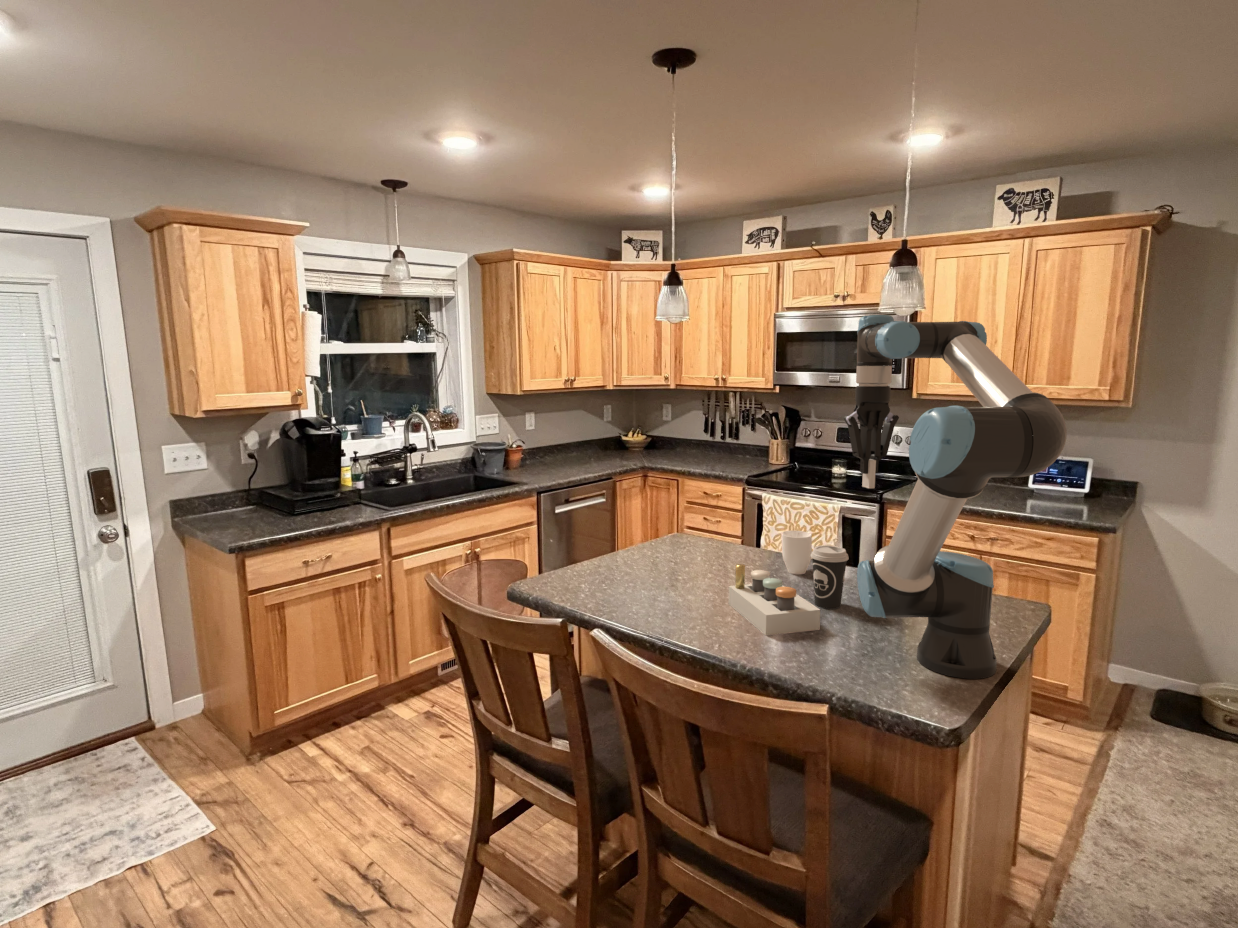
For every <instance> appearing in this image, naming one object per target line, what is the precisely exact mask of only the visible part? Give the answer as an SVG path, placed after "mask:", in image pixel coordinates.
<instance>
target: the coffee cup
mask: <svg viewBox="0 0 1238 928" xmlns="http://www.w3.org/2000/svg"><path fill="white" fill-rule="evenodd" d="M810 556H811V561H812V576H813V579H812V580H813V593H814V594H813V595H814V604H815V605H814V606H816V607H817V608H818V607H819V608H821V609H827V610H828V609H829V610H835V609H839V608H841V605H842V596H843V590H844V581H845V574H846V568H847V567H846V566H847V561H848V560H849V554H848V553H847V550H846V548H843V547H841V546H836V545H829V544H827V545H826V544H825V545H824V544H823V545H822V544H821V545H815V546H814V548H813V549H812V553H811V555H810Z"/></svg>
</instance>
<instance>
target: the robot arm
mask: <svg viewBox="0 0 1238 928" xmlns="http://www.w3.org/2000/svg"><path fill="white" fill-rule="evenodd" d="M856 333H857V342H856V343H857V347H856V350H857V351H856V371H855V372H856V374H855V382H856V384H858V385H856V387H855V389H854V390H855V392H854V394H855V396H854V400H855V401H854V402H855V406H854V409H853V412H852V413H850V414H849V415H845V416H844V417H843V419H844V422H845V423H846V425H847V429H848V435H849V441H850V446H851V451H852V456H853V457H856V458H858V459H860V462H859V463H860V468H859V471H860V474H862V477H861V478H862V482H861V484H862V485H861V487H862V488H866V489H875V487H876V474H877V473H878V472H879V463H880V462H879V461H882V459H883V458H884V457H887V455H888V452H889V449H890V445H891V441H892V437H893V433H894V429H895V425H896V424H897V422H898V420H899V419H900V416H899V415H897V414H894V413H893V412H891V407H890V406H889V403H890V402H891V387H890V386H889V385H890V384H891V383H892V373H893V371H892V370H893V369H892V368H893V367H892V366H893V360H896V359H897V360H899V359H942V360H943V361H944V362H945V363H946V365H948V367H949V368H950V369H951V370H952V371H953V372H954V374H955V375H956V376H957V377H958V378H959V379H960V381H961V382H962V383H963V384H964V386H965V387H966V388H967V389H968V391H969V392H970V393H971V394H972V396H974V398H975V399H976V400H977V401H978V402H979V404H980V405H981V406H970V407H969V406H961V405H949V406H948V405H947V406H943V407H942V406H941V407H940V406H939V407H934V408H931V409H928V410H926V411H925V412H924V413H922V414H921V416H919V418H917V420H916V422H915V423H914V426H913V428H912V430H911V433H910V437H909V441H910V444H909V445H908V458H909V463H910V465H911V468H912V470H913V471H914V474H915V475H916V478H917V480H916V483H915V485H914V487H913V489H912V491H911V494H910V496H909V499H908V501H907V502H906V506H905V507H904V510H903V513H902V515H901V517H900V520H899V521H898V524H897V526H896V529H895V530H894V532H893V536H891V540H890V542H889V544H888V545H885V546H883V547H882V548H880V549H879V550H878V551H877V552H876V555H875V556H874V558H873V560H869V559H866V560H862V561H860V562H859V563H858V565H857V570H856V571H857V572H856V579H857V590H858V596H859V600H860V604H861V606H862V609H863V610H864V612H865V613H866V614H867V616H869V617H871V618H883V619H891V618H895V619H896V618H897V619H898V618H902V619H903V618H907V619H908V618H927V624H926V628H924V629H925V630H924V633H923V634H922V637H921V639H920V642H918V645H917V648H916V659H917V661H918V662H919V664H921V665H922V666H923V667H924V668H926V669H928V670H930V671H933V672H935V673H938V674H941V675H945V676H949V677H953V678H959V679H968V680H971V679H972V680H974V679H976V680H977V679H985V678H990V677H992V676H993V675H995V674H996V672H997V665H998V664H997V663H998V662H997V661H998V660H997V656H996V654H995V648H994V645H993V643H992V639H991V635H990V627H991V626H990V625H991V614H992V604H993V602H992V601H993V592H994V591H993V588H994V586H995V585H994V569H993V568H992V566H991V565H990V564H989V563H987V562H986V561H984V560H982V559H980V558H977V557H975V556H972V555H967V554H963V553H958V552H953V551H952V552H951V551H945V550H944V551H941V549H942V548H943V546H944V544H945V542H946V540H947V538H948V536H949V534H950V532H951V531H952V528H953V526H954V525H955V523H956V521H957V519H958V517H959V515H960V514H961V511H962V510H963V508H964V506H965V505H966V502H967V500H969V499H973V498H975V497H977V496H979V495H980V494H981V493H982V492H983V490H984V489H985V487H986V486H987V484H988V482H989V480H990V479H991V478H1023V477H1029V476H1033V475H1035V474H1038V473H1040V472H1042V471H1045V470H1046V469H1048V468H1049V467H1051V466H1052V465H1053V464H1054V463H1055V462H1056V460H1057V459H1059V457H1060V455H1061V454H1062V452H1063V450H1064V449H1065V446H1066V440H1067V435H1068V434H1067V424H1066V421H1065V418H1064V415H1063V414H1062V412H1061V410H1059V408H1058V407H1057V406H1056V405H1055V403H1054V402H1052V401H1051V399H1050V398H1048V397H1047V396H1046V395H1044V394H1043V393H1039V392H1033V391H1032V390H1031V389H1030V388H1029V387H1028V386H1027V385H1026V384H1025V383H1024V382H1023V381H1022V380H1021V379H1020V378H1019V377H1018V376H1017V375H1016V374H1015V373H1014V372H1013V371H1012V370H1011V369H1010V367H1008V366H1007V365H1006V364H1005V362H1003V361H1002V360H1001V359H1000V357H998V356H997V355H996V354H995V353H994V352H993V351H992V350H991V349H990V348H989V347H988V346H987V343H988V340H987V339H988V335H987V332H986V328H985V326H984V325H983V324H982V323H980V322H977V321H966V320H960V321H905V320H895V319H894V317H893V316H892V315H889V314H887V315H886V314H874V315H872V314H871V315H864V316H863V315H862V316H861V317H860V318H859V320H858V327H857V332H856ZM858 422H859V424H858Z"/></svg>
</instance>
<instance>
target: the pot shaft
mask: <svg viewBox="0 0 1238 928" xmlns="http://www.w3.org/2000/svg"><path fill="white" fill-rule="evenodd" d="M745 578H746V564H742V563H737V564H735V578H734V579H735V581H734V585H735V588H737V589H744V588H745V584H746V583H745V582H746V581H745Z"/></svg>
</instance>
